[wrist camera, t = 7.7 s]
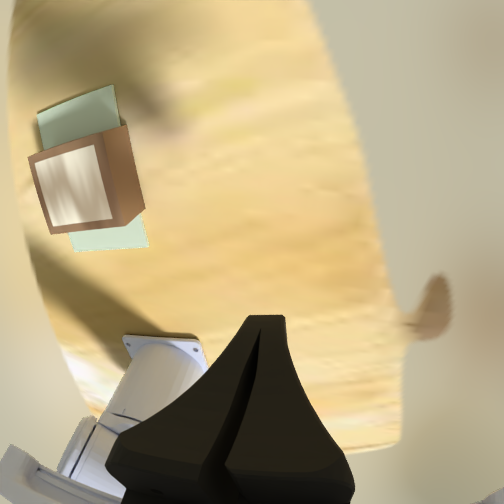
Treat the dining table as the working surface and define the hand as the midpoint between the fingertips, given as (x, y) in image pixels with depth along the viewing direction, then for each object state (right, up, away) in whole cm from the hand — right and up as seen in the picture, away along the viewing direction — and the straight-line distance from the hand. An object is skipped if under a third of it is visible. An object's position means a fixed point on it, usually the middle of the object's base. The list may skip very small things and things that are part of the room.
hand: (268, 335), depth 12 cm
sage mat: (-13, +9, +9) cm, 18 cm away
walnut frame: (-9, +8, +7) cm, 14 cm away
